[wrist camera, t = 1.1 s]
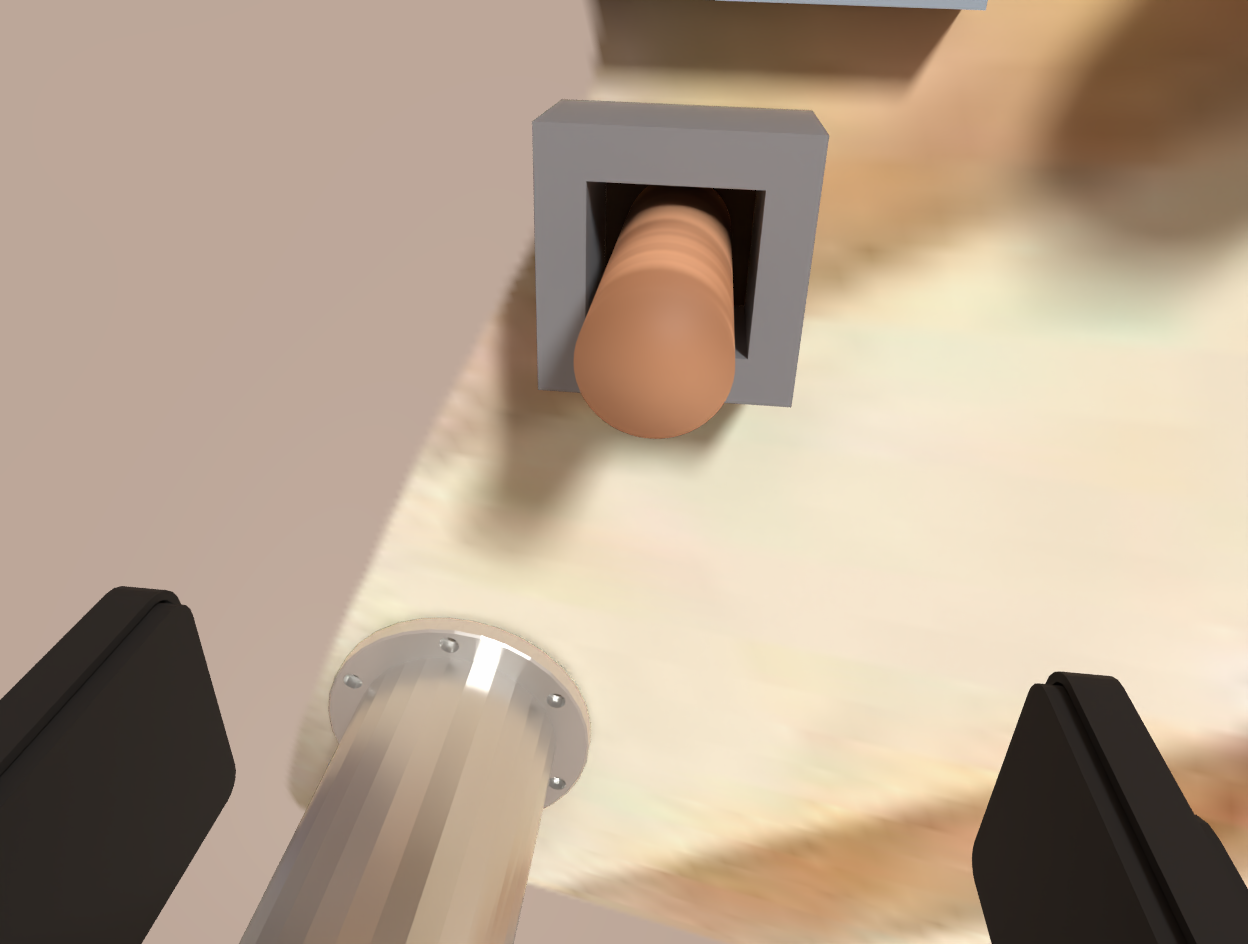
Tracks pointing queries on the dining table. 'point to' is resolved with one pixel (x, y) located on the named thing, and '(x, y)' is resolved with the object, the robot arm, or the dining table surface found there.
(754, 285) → the socket block
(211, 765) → the robot arm
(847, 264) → the dining table surface
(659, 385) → the dowel
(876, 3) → the tray
